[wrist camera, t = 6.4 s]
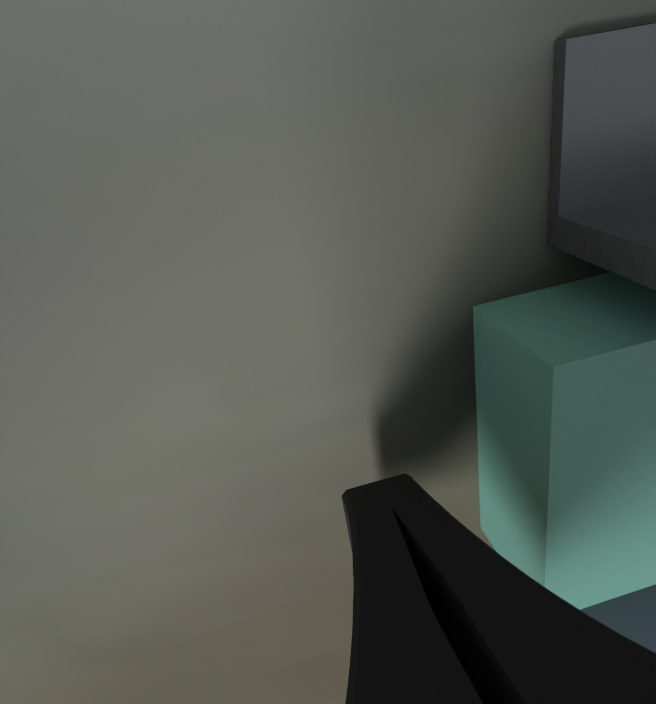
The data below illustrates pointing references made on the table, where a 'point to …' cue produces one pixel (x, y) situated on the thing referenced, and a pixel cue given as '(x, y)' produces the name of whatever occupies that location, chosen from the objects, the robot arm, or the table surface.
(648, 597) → the book row
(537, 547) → the green paperback
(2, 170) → the table surface
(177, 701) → the table surface
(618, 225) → the bookend
